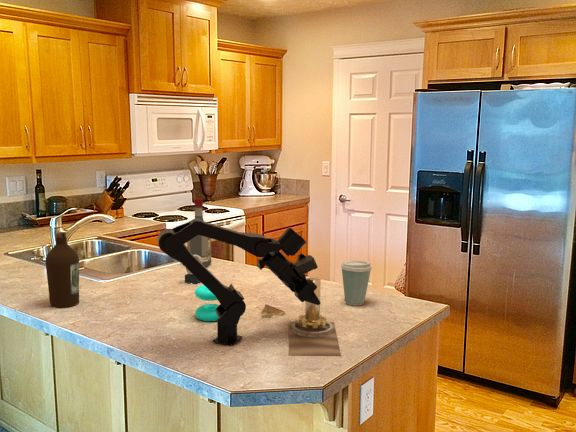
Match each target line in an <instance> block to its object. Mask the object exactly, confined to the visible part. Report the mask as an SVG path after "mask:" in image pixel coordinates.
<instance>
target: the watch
mask: <svg viewBox="0 0 576 432" xmlns="http://www.w3.org/2000/svg"><path fill="white" fill-rule="evenodd" d="M194 256H195V257H196V258H197V259H198V260H199V261H200V262H201V263H203V259H202V258H201V257H200V256H198V255H194ZM185 271H186V272H187V274H186V273H185V274H184V283H185V284H191V283H192V284H191V285H199V284H202V283H201V282H200V281H199V280H198V279H197V278H196V277H195V276H194V275H193V274H192V273H191V272H190V271H189V270H188V269H187V268H186V267H185ZM198 283H199V284H198Z"/></svg>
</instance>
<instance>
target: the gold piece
mask: <svg viewBox="0 0 576 432" xmlns="http://www.w3.org/2000/svg"><path fill="white" fill-rule="evenodd" d="M306 279H310V280H311V281H312V282H313V283H314V284H315V285H316V286H317V289H316V290H315V291H314V293H315V294H316V296H317V297H318V299H319V301H320V302H321V285H322V284H321V283H322V282H321V278H319V277H306ZM304 303H305V306H304V307H305V308H304V314H301V315H299V317H298V318H297V320H298V324H299V325H302V327H306V328H307V327H312V328H318V327H321V326H322V327H324V326H325V323H326V321H328V320H327V319H328V318H327V317H326V316H322V314H321V304H320V305H315V304H313V303H310V302H306V301H304Z"/></svg>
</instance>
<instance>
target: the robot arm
mask: <svg viewBox="0 0 576 432" xmlns="http://www.w3.org/2000/svg"><path fill="white" fill-rule="evenodd" d="M197 235H201V236H205V237H208V238H211V240H215V241H218V242H221V243H226V244H228V245H233V246H235V247H238V248H240V249H242V250H243V251H245V252H246V253H248V254H250V255H253V256H254V257H257V259H256V260H257V265H256V266H257V268H258V269H259V270H261V271H262V270H263V269H264V268H265V267H267V269H268V270H269V271H271V272H272V273H273V274H274V275H275V276H276V277H277V278H278V279H279V280H280V281H281V283H283V284H284V286H285V287H287V288H288V289H289V290H290V291H291V292H292V293H294V296H295V298H297V299H298V300H299V301H300V302H301V303H305V301H306V302H310V303H313V304H315V305H320V306H321V300H320V301H319V299H318V297H317V296H316V294H315V293H314V291H315V290H316V289H317V286H316V285H315V284H314V283H313V282H312V281H311V280H310V279H306V278H307V275H306V274H307V273H309V272H312V271H313V270H316V269H318V264H317V262H316V259H315V257H314V256H312V255H310V254H307V255H305V254H304V253H299V251H300V250H301V249H302V248H303V247H304V246H305V245H306V244H307V240H305V239H304V238H303V237H302V236H301V235H300V234H299V233H297V232H296V231H295V230H294V229H293V228H291V227H290V226H288V227H287V228H286V229H285V231H284V232H283V233H282V234H281V235H280V236H279V237H278V239H276V238H271V237H265V236H264V235H262V234H261V233H255V232H241V231H237V230H234V229H230V228H227V227H223V226H219V225H216V224H214V223H211V222H208V221H202V220H200V219H197V218H196V219H195V218H193V219H191V220H190V221H188V222H185V223H182V224H180V225H178V226H175V227H173V228H164V229H163V230H161V231H160V232H159V234H158V235H157V243H158V248H159V249H160V250H161V252H162V253H164V254H165V255H167V256H168V257H170V258H172V259H173V260H174V261H177V262H179V263H180V264H181V265H182V266H184V268H185V269H186V268H187V269H188V270H189V271H190V272H191V273H192V274H193V275H194V276H195V277H196V278H197V279H198V280H199V281H200V282H201V283H200V284H201V285H204V286H205V287H206V288H207V289H209V290H210V291H211V292H212V293H213V294H214V295H215V296H216V298H217V299H218V300H217V301H218V302H219V304H218V305H219V306H218V307H217V308H216V309H215V311H216V314H217V316H218V318H219V319H218V320H217V324H216V325H217V326H216V329H217V331H216V332H217V337H216V338H214V339H213V340H212V343H214V344H222V345H227V346H234V345H235V344H236V343H237V342H239V341H240V340H242V339H243V336H242V335H238V324H239V321H240V320H241V317H242V316H243V315H244V314H245V312H246V310H247V309H246V308H247V304H246V302H245V301H244V300H245V297H244V296H243V294H242V293H241V291H238V290H237V289H236V288H235V287H234V285H233V283H230V284H229V285H228V286H227V285H225V284H223V283H222V282H221V281H220V280H219V279H218V277H216V275H214V274H213V273H212V272H211V271H210V270H209V269H208V267H207V268H206V267H205V266H204V265H203V264H202V263H201V262H200V261H199V260H198V259H197V258H196V257H195V256H194V255H193V254H192V253H191V252H190V251H189V250H188V249H187V245H186V244H187V242H188V241H189V240H191V239H192V238H194V237H195V236H197ZM280 251H282V253H281V252H280ZM283 253H284V254H285V255H286V256H285V255H284V254H283ZM298 253H299V254H298ZM296 254H297V258H296V259H297V260H295V262H292V261H291V260H289V259H287V258H286V257H289V256H290V257H294V256H296Z"/></svg>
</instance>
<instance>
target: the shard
mask: <svg viewBox="0 0 576 432" xmlns="http://www.w3.org/2000/svg"><path fill="white" fill-rule="evenodd" d="M263 307H264V308H263V309H261V310H262V311H261V314H260V316H261V317H260V318H262V319H270V318H272V317H273V316H278V317H282V316H284V315H285V314H286V311H284V310H282V309H279V308H278V307H275V306H271V305H268V304H265V305H264V306H263Z"/></svg>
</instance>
